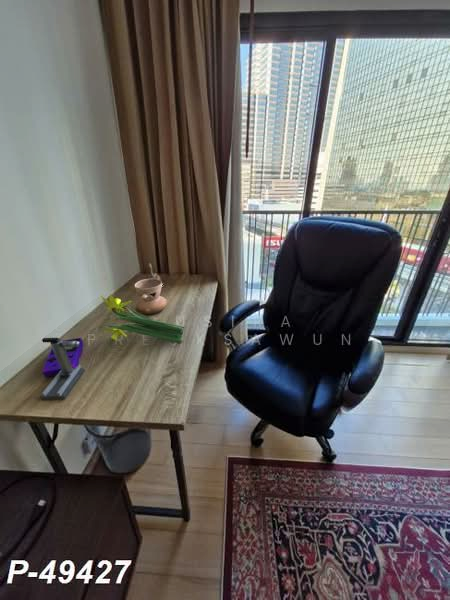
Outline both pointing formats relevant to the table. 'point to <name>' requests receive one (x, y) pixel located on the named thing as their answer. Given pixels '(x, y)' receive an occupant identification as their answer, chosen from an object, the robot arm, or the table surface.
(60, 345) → the tap
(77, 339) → the handheld gaming console
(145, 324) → the daffodil flowers
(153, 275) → the ostrich figurine
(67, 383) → the base
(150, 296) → the ceramic jug
